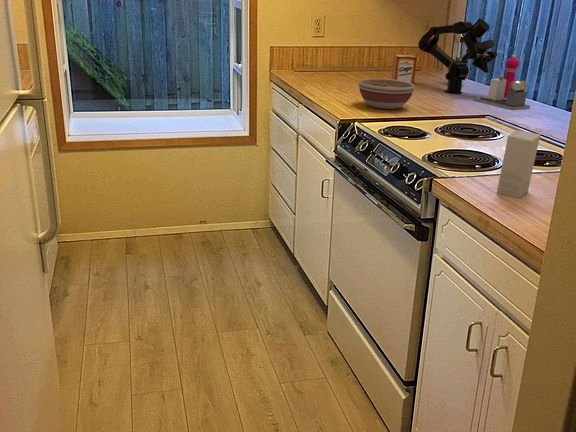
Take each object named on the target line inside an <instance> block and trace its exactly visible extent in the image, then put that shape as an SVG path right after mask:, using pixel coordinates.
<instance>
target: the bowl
mask: <svg viewBox="0 0 576 432" xmlns="http://www.w3.org/2000/svg"><path fill="white" fill-rule="evenodd" d="M358 87H359V93H360V95H361V97H362V99H363V100H364V102H365V103H366V104H367V105H369V106H370V107H372V108H376V109H384V110H394V109H400V108H401V107H403V106H404V105H405V104H406V103H408V102H409V100H410V99H411V98H412V95H413V93H414V90H415V84H412V83H409V82H405V81H400V80H392V78H391V79H390V78H364V79H360V80H359V81H358Z"/></svg>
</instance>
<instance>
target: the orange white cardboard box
mask: <svg viewBox="0 0 576 432" xmlns="http://www.w3.org/2000/svg"><path fill="white" fill-rule="evenodd" d="M417 59H418V58H417V56H415V55H411V54H409V55H408V54H394V56H393V66H392V74H391V79H392V80H400V81H405V82H409V83H412V84H413V85H415V84H414V83H415V76H416V69H417V67H416V66H417Z"/></svg>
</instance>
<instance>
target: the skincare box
mask: <svg viewBox="0 0 576 432" xmlns="http://www.w3.org/2000/svg"><path fill="white" fill-rule="evenodd" d="M540 138H541V134H540V133H536V132H529V131H523V130H517V129H516V130H514V132H511V133H510V134H509V135H507V139H506V145H505V150H504V155H503V160H502V165H501V169H500V173H499V174H500V175H499V179H498V182H497V183H498V184H497V190H496V194H500V195H503V196H508V197H510V198H511V197H512V198H516V199H521V198H522V197H523V196H524V195H525V194H527V192H528V191H529V188H530V184H531V183H530V182H531V179H532V174H533V170H534V165H535V161H536V156H537V151H538V148H539V143H540V140H541V139H540Z"/></svg>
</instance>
